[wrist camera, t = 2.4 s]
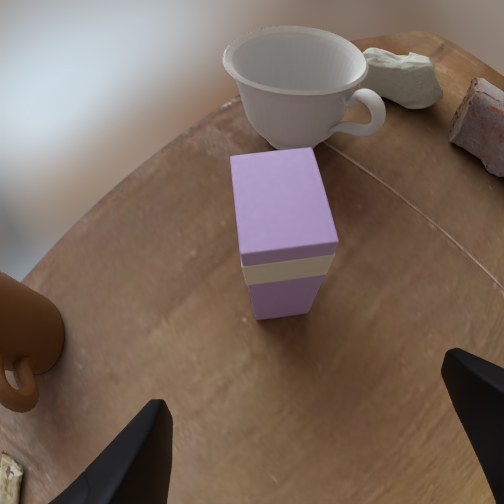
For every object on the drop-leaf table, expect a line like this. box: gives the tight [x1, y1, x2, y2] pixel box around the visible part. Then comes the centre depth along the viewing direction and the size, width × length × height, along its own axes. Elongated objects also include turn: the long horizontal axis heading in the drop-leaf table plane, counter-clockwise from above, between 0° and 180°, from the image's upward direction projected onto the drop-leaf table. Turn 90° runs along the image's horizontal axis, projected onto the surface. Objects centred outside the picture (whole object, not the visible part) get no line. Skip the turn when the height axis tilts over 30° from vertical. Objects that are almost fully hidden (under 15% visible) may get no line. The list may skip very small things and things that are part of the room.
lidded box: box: [230, 148, 339, 320], centre depth 19 cm, size 5×4×12 cm
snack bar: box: [0, 451, 24, 504], centre depth 16 cm, size 10×2×3 cm
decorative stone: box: [359, 48, 443, 109], centre depth 31 cm, size 11×9×10 cm
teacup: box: [223, 26, 386, 150], centre depth 26 cm, size 12×15×10 cm
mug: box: [0, 271, 64, 413], centre depth 18 cm, size 12×8×9 cm, turn 42°
